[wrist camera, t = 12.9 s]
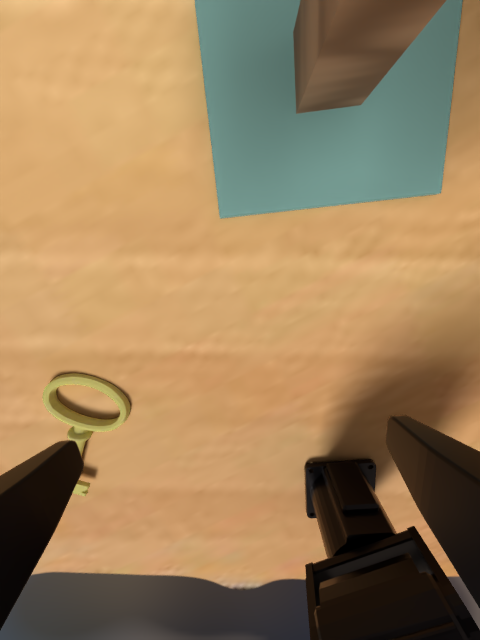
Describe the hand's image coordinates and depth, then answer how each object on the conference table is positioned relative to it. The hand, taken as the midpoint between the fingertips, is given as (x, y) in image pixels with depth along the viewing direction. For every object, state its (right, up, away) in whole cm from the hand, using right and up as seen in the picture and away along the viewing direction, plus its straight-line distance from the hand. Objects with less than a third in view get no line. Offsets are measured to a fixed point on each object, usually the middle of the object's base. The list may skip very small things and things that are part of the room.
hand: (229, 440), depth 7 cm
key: (-14, -6, +16) cm, 23 cm away
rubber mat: (+6, +19, +8) cm, 21 cm away
